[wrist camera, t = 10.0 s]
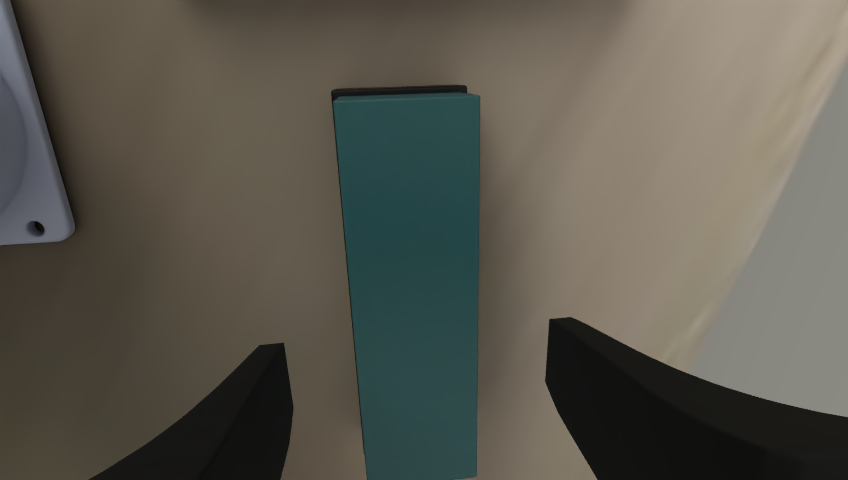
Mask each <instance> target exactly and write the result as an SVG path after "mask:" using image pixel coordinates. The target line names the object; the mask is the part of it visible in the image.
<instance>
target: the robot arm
mask: <svg viewBox="0 0 848 480" xmlns="http://www.w3.org/2000/svg"><path fill="white" fill-rule="evenodd" d="M35 221H38V222H39V223H41V224H42V225H43V226H44V228H45V232H41V231H39V230H37V228H36V227H35ZM74 230H75V223H74V219H73V216H72V212H71V209H70V205H69V202H68V198H67V195H66V191H65V188H64V185H63V181H62V178H61V174H60V171H59V167H58V164H57V160H56V157H55V153H54V150H53V147H52V143H51V140H50V136H49V133H48V129H47V126H46V122H45V119H44V115H43V112H42V109H41V105H40V102H39V98H38V95H37V91H36V88H35V84H34V81H33V77H32V74H31V71H30V67H29V64H28V60H27V57H26V53H25V50H24V46H23V43H22V39H21V36H20V33H19V29H18V26H17V22H16V19H15V15H14V12H13V8H12V5H11V1H10V0H0V245H11V244H27V243H43V242H58V241H62V240H65V239H66V238H68V237H70V236H71V235H72V234H73V233H74ZM545 382H546V385H547V387H548V390H549V392H550V395H551V397H552V400H553V402H554V404H555V406H556V409H557V411H558V413H559V415H560V417H561V419H562V420H563V422H564V424H565V425H566V427H567V429H568V431H569V432H570V434H571V436H572V437H573V439H574V441H575V442H576V444H577V446H578V447H579V449H580V451H581V453H582V454H583V456H584V458H585V459H586V461H587V463H588V464H589V466H590V468H591V469H592V471H593V473H594V474H595V476H596V478H597V479H598V480H848V417H843V416H837V415H832V414H827V413H821V412H816V411H811V410H807V409H803V408H798V407H794V406H790V405H786V404H781V403H777V402H774V401H770V400H766V399H762V398H759V397H755V396H752V395H748V394H745V393H742V392H739V391H736V390H732V389H729V388H726V387H723V386H720V385H717V384H714V383H711V382H709V381H706V380H703V379H700V378H698V377H695V376H693V375H690V374H688V373H685V372H682V371H680V370H678V369H675V368H673V367H671V366H668V365H666V364H664V363H662V362H660V361H658V360H655V359H653V358H651V357H649V356H647V355H645V354H643V353H641V352H639V351H637V350H635V349H633V348H631V347H629V346H627V345H625V344H623V343H621V342H619V341H617V340H615V339H613V338H611V337H610V336H608V335H606V334H604V333H602V332H600V331H598V330H596V329H594V328H593V327H591V326H589V325H587V324H585V323H583V322H581V321H578V320H576V319H574V318H571V317H567V318H556V319H549V334H548V348H547V363H546V378H545ZM292 416H293V401H292V395H291V388H290V381H289V374H288V368H287V361H286V354H285V347H284V343H277V344H266V345H259V346H258V347H257V348H256V349H255V350H254V351H253V352H252V353H251V354H250V355H249V356H248V357H247V358H246V359H245V360H244V361H243V362H242V363H241V364H240V365H239V366H238V367H237V368H236V369H235V370H234V371H233V372H232V373H231V374H230V375H229V376H228V377H227V378H226V379H225V380H224V381H223V382H222V383H221V384H220V385H219V386H218V387H217V388H216V389H214V390H213V391H212V392H211V393H210V394H209V395H208V396H206V397H205V398H204V399H203V400H202V401H201V402H200V403H198V404H197V405H196V406H195V407H194V408H193V409H192V410H190V411H189V412H188V413H187V414H186V415H185V416H183V417H182V418H181V419H180V420H178V421H177V422H176V423H174V424H173V425H172V426H171V427H169V428H168V429H166V430H165V431H164V432H162V433H161V434H160V435H158V436H157V437H155V438H154V439H153V440H151V441H150V442H148V443H147V444H146V445H144V446H143V447H141V448H139V449H138V450H136V451H135V452H133V453H132V454H130V455H128V456H127V457H125V458H124V459H122V460H120V461H119V462H117V463H116V464H114V465H113V466H111V467H109V468H108V469H106V470H105V471H103V472H101V473H99V474H98V475H96V476H94V477H92V478H91V479H89V480H280V479H281V475H282V471H283V467H284V463H285V459H286V455H287V451H288V447H289V442H290V434H291V426H292Z"/></svg>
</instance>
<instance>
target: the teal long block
mask: <svg viewBox="0 0 848 480" xmlns="http://www.w3.org/2000/svg"><path fill="white" fill-rule="evenodd" d="M331 96H332V107H333V118H334V129H335V140H336V151H337V162H338V173H339V184H340V195H341V206H342V217H343V228H344V239H345V250H346V261H347V272H348V283H349V294H350V306H351V317H352V328H353V339H354V350H355V361H356V372H357V383H358V394H359V405H360V416H361V427H362V438H363V449H364V454H365V463H366V475H367V480H454V479H462V478H471V477H476V475H477V381H478V280H479V179H480V96H479V95H473V94H467V87H466V86H465V85H431V86H402V87H372V88H342V89H334V90H332V92H331Z"/></svg>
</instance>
